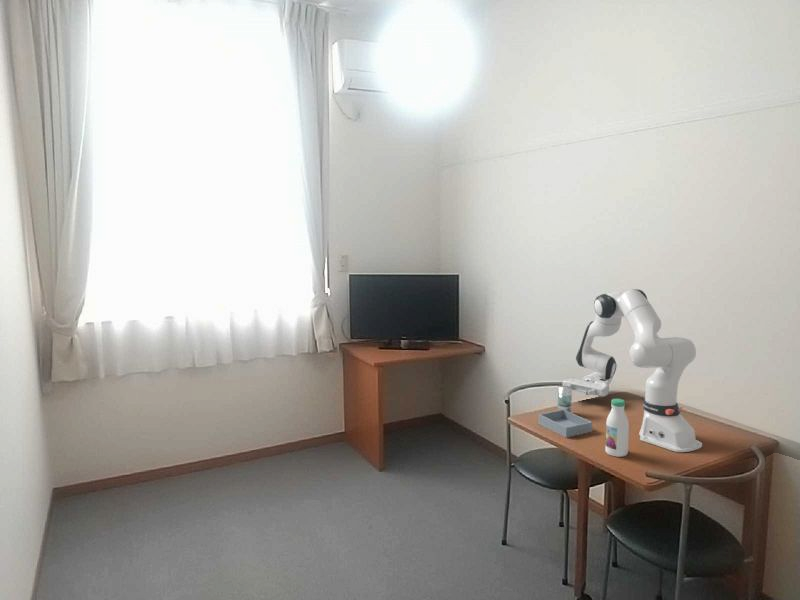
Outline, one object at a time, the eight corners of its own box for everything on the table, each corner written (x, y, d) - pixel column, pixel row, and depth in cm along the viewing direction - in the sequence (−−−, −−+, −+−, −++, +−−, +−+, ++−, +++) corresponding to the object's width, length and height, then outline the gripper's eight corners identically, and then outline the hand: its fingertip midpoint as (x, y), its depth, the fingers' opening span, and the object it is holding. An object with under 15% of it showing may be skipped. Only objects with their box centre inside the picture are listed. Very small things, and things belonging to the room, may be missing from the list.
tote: (592, 431, 223) (592, 422, 223) (566, 437, 218) (566, 427, 217) (563, 418, 239) (563, 409, 238) (538, 423, 233) (538, 414, 233)
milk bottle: (624, 448, 206) (626, 396, 203) (630, 457, 199) (632, 403, 196) (602, 448, 207) (604, 396, 204) (608, 457, 200) (610, 403, 197)
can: (574, 414, 243) (574, 388, 241) (563, 416, 241) (564, 390, 239) (565, 410, 248) (565, 384, 246) (555, 412, 246) (555, 386, 244)
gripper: (570, 373, 269) (556, 380, 259) (612, 381, 255) (599, 389, 245) (570, 386, 270) (556, 393, 260) (611, 395, 256) (598, 402, 246)
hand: (577, 391), depth 252 cm, fingers open, 8 cm apart
